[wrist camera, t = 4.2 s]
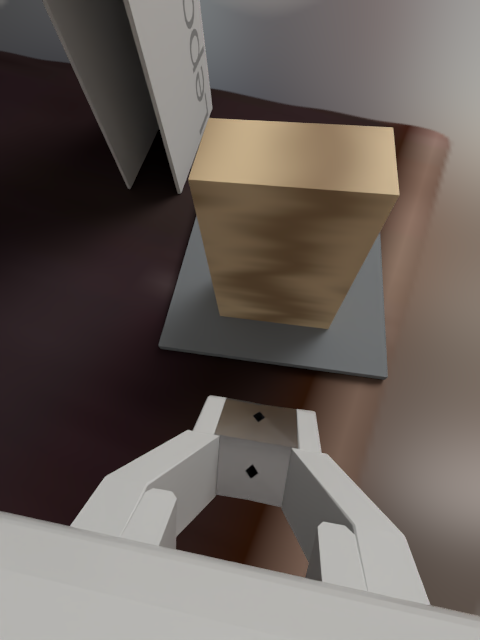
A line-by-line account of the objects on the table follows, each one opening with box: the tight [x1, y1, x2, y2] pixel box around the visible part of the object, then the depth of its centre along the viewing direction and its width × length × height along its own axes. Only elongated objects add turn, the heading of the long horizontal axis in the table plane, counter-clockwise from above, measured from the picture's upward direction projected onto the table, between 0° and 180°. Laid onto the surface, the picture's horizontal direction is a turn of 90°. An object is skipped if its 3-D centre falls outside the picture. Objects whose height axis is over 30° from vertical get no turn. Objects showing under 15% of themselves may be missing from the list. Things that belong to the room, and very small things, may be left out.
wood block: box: [188, 118, 399, 329], centre depth 18 cm, size 8×4×12 cm, turn 81°
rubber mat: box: [158, 216, 388, 380], centre depth 26 cm, size 16×22×1 cm
